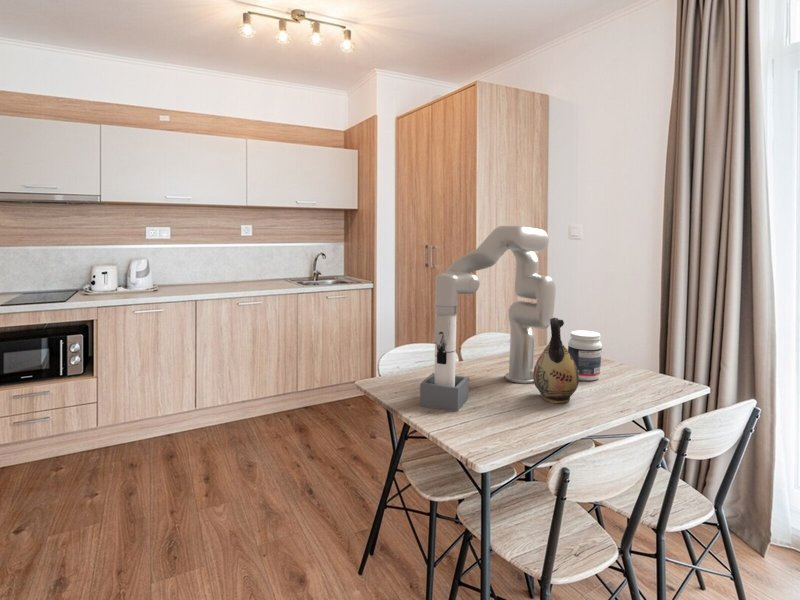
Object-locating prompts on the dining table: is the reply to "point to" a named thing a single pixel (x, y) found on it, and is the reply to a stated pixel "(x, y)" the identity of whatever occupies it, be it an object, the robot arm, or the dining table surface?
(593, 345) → the supplement tub
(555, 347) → the ceramic jug
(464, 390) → the square well
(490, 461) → the dining table surface
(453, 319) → the cylindrical container
